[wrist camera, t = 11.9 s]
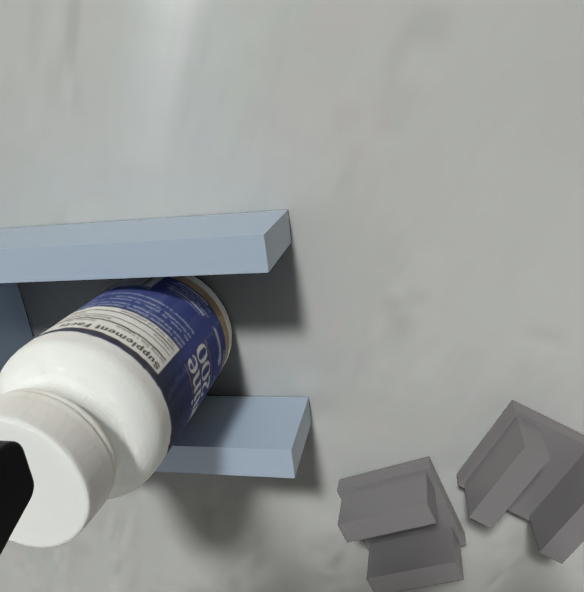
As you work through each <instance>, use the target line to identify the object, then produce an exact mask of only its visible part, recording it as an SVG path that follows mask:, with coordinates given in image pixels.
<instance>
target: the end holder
mask: <svg viewBox="0 0 584 592" xmlns="http://www.w3.org/2000/svg"><path fill="white" fill-rule="evenodd" d="M290 243H291V233H290V224H289V215H288V210H276V211H260V212H245V213H230V214H215V215H200V216H185V217H170V218H154V219H139V220H124V221H109V222H94V223H79V224H63V225H48V226H33V227H18V228H3V229H0V372H1V370H2V369H3V367H4V365H5V364H6V363H7V361H8V360H9V359H10V358H11V357H12V356H13V355H14V354H15V353H16V352H17V351H18V350H19V349H20V348H22V347H23V346H24V345H26V344H27V343H28V342H30V341H31V340H33V339H34V338H33V335H32V331H31V328H30V325H29V321H28V318H27V314H26V311H25V308H24V304H23V301H22V297H21V294H20V291H19V287H18V284H17V283H19V282H44V281H69V280H94V279H119V278H144V277H169V276H194V275H220V274H245V273H269V271H270V270H271V269H272V267H273V266H274V265H275V263H276V262H277V261H278V259H279V258H280V257H281V255H282V254H283V253H284V251H285V250H286V249H287V247H288V246H289V245H290ZM310 425H311V415H310V406H309V397H263V396H205V397H204V398H203V400H202V402H201V403H200V405H199V406H198V408H197V410H196V411H195V413H194V414H193V416H192V417H191V419H190V420H189V421H188V423H187V424H186V426H185V427H184V429H183V430H182V432H181V433H180V435H179V437H178V438H177V440H176V441H175V443H174V444H173V446H172V448H171V449H170V450H169V452H168V454H167V455H166V457H165V458H164V460H163V461H162V463H161V464H160V465H159V467H158V468H157V469H156V470H155V472H172V473H193V474H214V475H236V476H257V477H278V478H295V476H296V473H297V469H298V466H299V463H300V459H301V456H302V452H303V449H304V446H305V442H306V439H307V435H308V432H309V429H310Z"/></svg>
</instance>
